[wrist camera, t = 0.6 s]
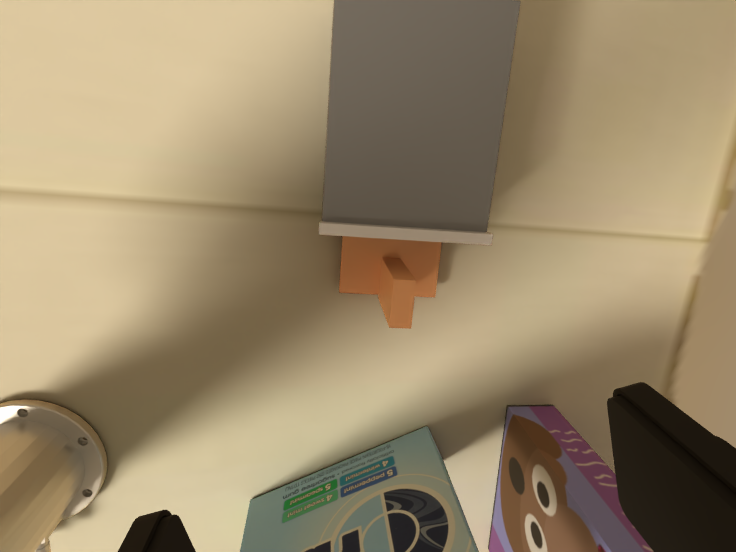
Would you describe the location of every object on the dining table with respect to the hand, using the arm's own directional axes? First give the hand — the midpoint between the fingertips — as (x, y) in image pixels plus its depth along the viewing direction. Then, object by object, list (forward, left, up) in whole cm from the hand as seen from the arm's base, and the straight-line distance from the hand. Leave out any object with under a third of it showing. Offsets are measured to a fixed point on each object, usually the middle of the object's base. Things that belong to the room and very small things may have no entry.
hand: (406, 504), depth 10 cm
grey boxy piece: (+9, -4, -32) cm, 33 cm away
